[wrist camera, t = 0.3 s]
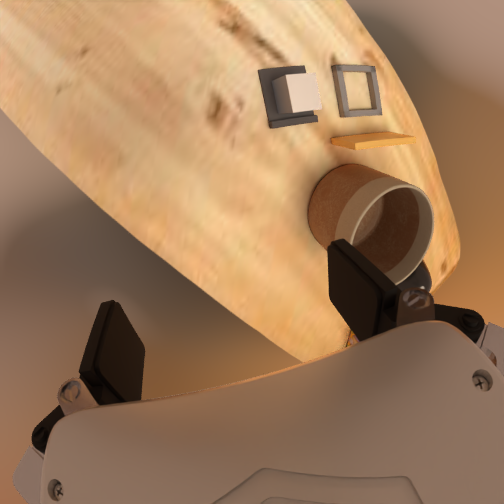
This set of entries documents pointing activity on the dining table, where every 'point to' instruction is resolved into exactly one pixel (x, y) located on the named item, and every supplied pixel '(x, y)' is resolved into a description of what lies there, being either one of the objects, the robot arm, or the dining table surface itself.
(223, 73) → the dining table surface
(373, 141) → the port
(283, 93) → the plug
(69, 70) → the dining table surface
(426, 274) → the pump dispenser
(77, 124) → the dining table surface
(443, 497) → the robot arm
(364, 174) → the planter
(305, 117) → the dark grey lipped plate
